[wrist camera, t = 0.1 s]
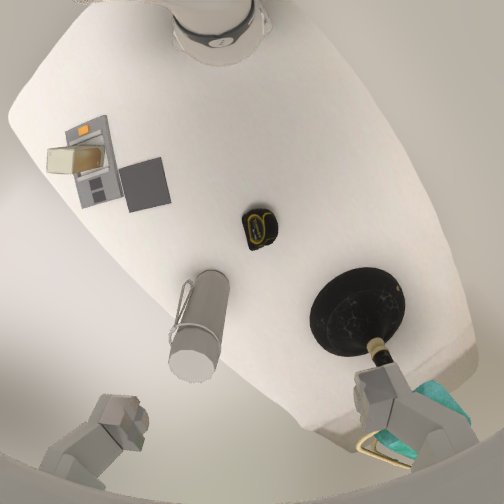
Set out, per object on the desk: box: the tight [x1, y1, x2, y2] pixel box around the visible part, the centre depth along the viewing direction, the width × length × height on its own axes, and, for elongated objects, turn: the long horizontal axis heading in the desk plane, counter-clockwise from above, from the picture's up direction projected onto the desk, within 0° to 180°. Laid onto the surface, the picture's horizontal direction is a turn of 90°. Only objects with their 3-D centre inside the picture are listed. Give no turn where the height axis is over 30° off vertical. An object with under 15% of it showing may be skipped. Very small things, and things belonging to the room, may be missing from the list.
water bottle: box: [168, 271, 229, 383], centre depth 49 cm, size 9×8×25 cm
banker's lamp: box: [310, 268, 471, 470], centre depth 45 cm, size 26×23×40 cm
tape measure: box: [242, 209, 278, 251], centre depth 53 cm, size 7×7×4 cm
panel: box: [65, 115, 124, 209], centre depth 50 cm, size 17×10×2 cm, turn 10°
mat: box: [119, 157, 171, 213], centre depth 53 cm, size 9×9×1 cm
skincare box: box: [47, 145, 105, 174], centre depth 45 cm, size 6×4×12 cm
